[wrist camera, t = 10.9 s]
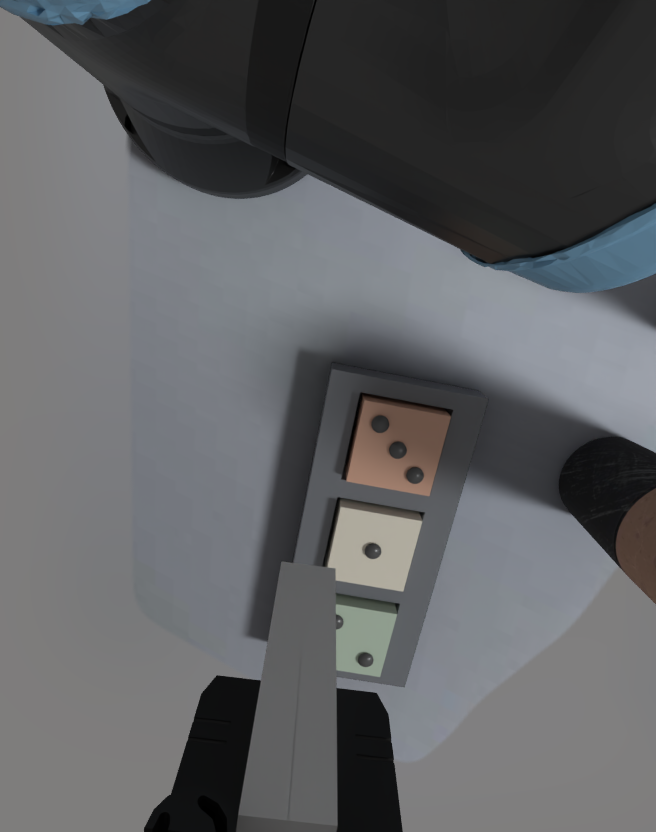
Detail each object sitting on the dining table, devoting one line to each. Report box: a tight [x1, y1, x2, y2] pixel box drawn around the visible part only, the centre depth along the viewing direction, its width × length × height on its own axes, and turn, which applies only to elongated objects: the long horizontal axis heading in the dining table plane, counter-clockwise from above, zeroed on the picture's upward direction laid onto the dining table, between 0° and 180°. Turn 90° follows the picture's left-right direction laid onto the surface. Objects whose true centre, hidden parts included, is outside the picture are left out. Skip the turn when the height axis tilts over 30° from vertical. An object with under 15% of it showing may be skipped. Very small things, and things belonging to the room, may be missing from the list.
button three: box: [345, 392, 451, 496], centre depth 36 cm, size 6×6×3 cm
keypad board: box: [292, 363, 489, 687], centre depth 39 cm, size 25×11×2 cm, turn 169°
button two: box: [336, 593, 397, 677], centre depth 40 cm, size 6×6×3 cm
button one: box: [325, 497, 422, 592], centre depth 38 cm, size 6×6×3 cm
